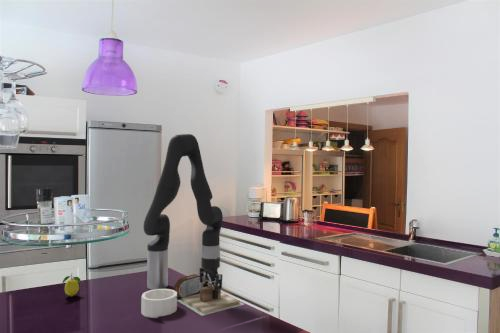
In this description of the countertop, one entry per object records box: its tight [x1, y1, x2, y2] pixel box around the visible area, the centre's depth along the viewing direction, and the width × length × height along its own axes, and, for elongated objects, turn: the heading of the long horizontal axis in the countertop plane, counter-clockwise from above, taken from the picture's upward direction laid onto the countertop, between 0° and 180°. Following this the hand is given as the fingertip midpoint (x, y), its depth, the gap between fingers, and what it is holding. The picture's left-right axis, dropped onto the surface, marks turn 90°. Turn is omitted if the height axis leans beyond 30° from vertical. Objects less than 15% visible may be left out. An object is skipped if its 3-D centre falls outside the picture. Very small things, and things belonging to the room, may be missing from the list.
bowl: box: [140, 288, 178, 319], centre depth 152 cm, size 13×13×6 cm
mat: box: [177, 298, 245, 317], centre depth 160 cm, size 20×20×1 cm
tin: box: [173, 273, 203, 299], centre depth 170 cm, size 15×3×8 cm, turn 141°
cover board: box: [181, 284, 241, 313], centre depth 160 cm, size 17×17×6 cm
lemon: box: [61, 273, 82, 297], centre depth 167 cm, size 7×6×10 cm
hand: (210, 296), depth 160 cm, fingers open, 6 cm apart
